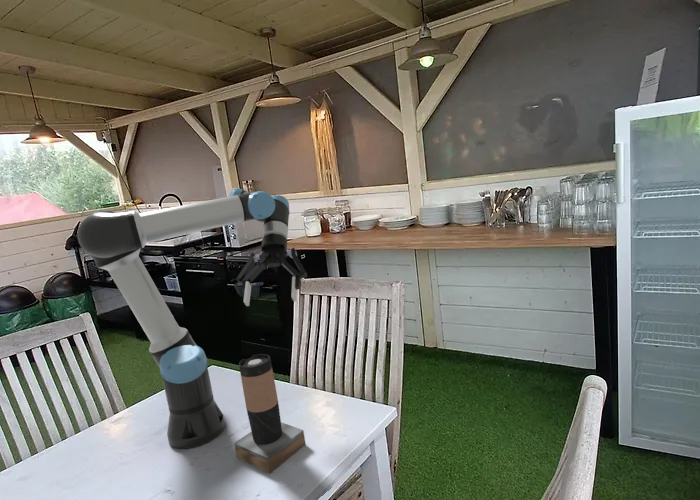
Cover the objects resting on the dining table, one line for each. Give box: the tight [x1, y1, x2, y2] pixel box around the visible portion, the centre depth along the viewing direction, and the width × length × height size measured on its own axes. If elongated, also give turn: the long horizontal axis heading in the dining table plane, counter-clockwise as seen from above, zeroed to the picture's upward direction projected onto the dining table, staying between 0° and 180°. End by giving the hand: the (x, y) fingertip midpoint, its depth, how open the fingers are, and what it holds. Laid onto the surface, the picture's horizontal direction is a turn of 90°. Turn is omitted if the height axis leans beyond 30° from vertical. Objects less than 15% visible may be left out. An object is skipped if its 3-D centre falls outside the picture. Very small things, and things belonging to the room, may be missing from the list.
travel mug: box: [238, 353, 282, 445], centre depth 108 cm, size 8×8×20 cm
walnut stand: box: [233, 421, 306, 474], centre depth 110 cm, size 12×12×4 cm
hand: (269, 301), depth 123 cm, fingers open, 13 cm apart
